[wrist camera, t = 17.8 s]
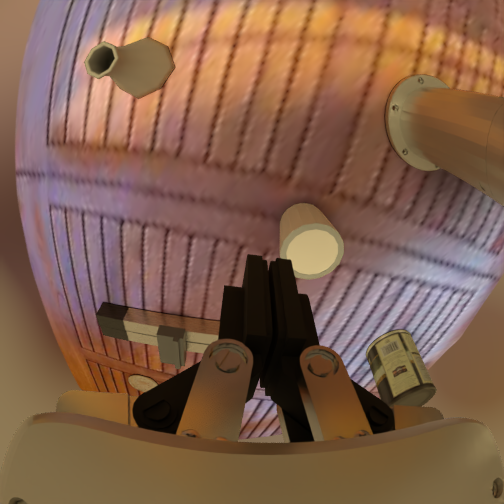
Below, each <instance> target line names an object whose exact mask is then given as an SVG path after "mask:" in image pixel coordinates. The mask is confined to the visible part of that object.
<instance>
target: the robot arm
mask: <svg viewBox="0 0 504 504" xmlns="http://www.w3.org/2000/svg"><path fill="white" fill-rule="evenodd" d="M392 107H393V109H392ZM385 122H386V129H387V134H388V137H389V140H390V142H391V145H392V146H393V148H394V150H395V151H396V153H397V154H398V155H399V156H400V157H401V159H402V160H404V161H405V162H406V163H408V164H409V165H411V166H413V167H414V168H417V169H420V170H423V171H434V170H438V169H441V168H442V169H444V170H446V171H447V172H449V173H451V174H453V175H454V176H456V177H458V178H460V179H461V180H463V181H465V182H466V183H468V184H470V185H471V186H473V187H475V188H476V189H478V190H479V191H481V192H482V193H484V194H486V195H487V196H489V197H490V198H492V199H493V200H495V201H496V202H497V203H499V204H500V205H502V206H503V207H504V97H500V96H495V95H489V94H484V93H478V92H471V91H464V90H457V89H450V88H449V87H448V86H447V85H446V84H445V83H444V82H442V81H441V80H439V79H437V78H435V77H433V76H429V75H412V76H409V77H406V78H404V79H403V80H401V81H400V82H399V83H398V84H397V85H396V86H395V87H394V89H393V90H392V92H391V94H390V96H389V98H388V101H387V105H386V113H385ZM402 151H403V152H402ZM259 378H260V387H261V388H265V396H271V400H272V401H274V402H275V403H276V404H277V413H278V417H279V422H280V426H281V430H282V434H283V438H284V443H251V442H250V443H249V442H238V438H239V433H240V428H241V423H242V418H243V413H244V408H245V403H247V402H248V401H249V400H251V399H252V398H253V395H254V392H255V389H256V387H257V384H258V381H259ZM0 504H504V467H503V464H502V460H501V456H500V453H499V450H498V447H497V445H496V442H495V440H494V437H493V435H492V434H491V431H490V430H489V428H488V427H487V426H486V425H485V424H484V423H482V422H480V421H478V420H474V419H469V418H461V417H457V418H447V419H444V418H443V415H442V414H441V412H440V411H439V410H437V409H436V408H433V407H418V406H402V405H393V406H392V407H389V406H388V405H387V404H386V403H385V402H383V401H382V400H380V399H379V398H377V397H376V396H374V395H373V394H372V393H370V392H369V391H367V390H366V389H364V388H363V387H361V386H360V385H358V384H357V383H356V382H354V381H353V380H351V379H350V377H349V375H348V372H347V370H346V368H345V365H344V363H343V361H342V359H341V358H340V356H339V355H338V354H337V353H336V352H335V351H334V350H332V349H330V348H328V347H325V346H320V345H319V341H318V336H317V332H316V327H315V323H314V318H313V314H312V310H311V306H310V301H309V298H308V295H307V294H298V290H297V285H296V280H295V275H294V271H293V266H292V261H291V260H290V259H282V258H276V261H271V262H270V266H269V270H268V265H267V260H262V256H258V255H250V254H248V255H247V261H246V267H245V273H244V279H243V285H242V287H233V286H225V285H224V293H223V301H222V309H221V318H220V326H219V335H218V340H217V341H214V342H212V343H211V344H210V345H208V346H207V348H206V350H205V351H204V354H203V357H202V360H201V361H200V362H199V363H197V364H195V365H193V366H192V367H190V368H188V369H186V370H185V371H183V372H181V373H179V374H178V375H176V376H174V377H172V378H170V379H169V380H167V381H165V382H163V383H161V384H159V385H158V386H156V387H154V388H152V389H150V390H148V391H146V392H144V393H143V394H141V395H140V396H129V395H128V394H126V393H105V392H91V391H80V390H69V391H67V392H65V393H63V394H62V395H61V396H60V397H59V399H58V402H57V406H56V412H48V413H41V414H35V415H32V416H30V417H28V418H27V419H25V420H24V421H23V422H22V423H21V424H20V426H19V427H18V428H17V430H16V432H15V434H14V436H13V438H12V440H11V442H10V444H9V446H8V449H7V452H6V454H5V457H4V460H3V464H2V467H1V471H0Z"/></svg>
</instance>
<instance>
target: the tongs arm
mask: <svg viewBox="0 0 504 504" xmlns="http://www.w3.org/2000/svg"><path fill="white" fill-rule="evenodd" d="M96 316H97V319H98V322H99V325H101V326H105V327H109V328H114V329H119V330H123V331H131V332H136V333H142V334H147V335H152V336H157V335H156V334H157V331H158V328H159V325H164V326H170V327H176V328H183V329H185V332H186V341H190V342H197V343H205V344H211V343H212V342H214V341H217V340H218V335H219V326H220V321H213V320H205V319H197V318H190V317H183V316H176V315H169V314H163V313H157V312H151V311H145V310H139V309H133V308H129V307H124V306H119V305H113V304H108V303H104V302H103V303H102V305H101V307H100V308H99V310H98V312H97V314H96Z"/></svg>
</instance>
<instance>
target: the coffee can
mask: <svg viewBox="0 0 504 504" xmlns="http://www.w3.org/2000/svg"><path fill="white" fill-rule="evenodd" d="M366 357H367V359H368V362H369V365H370V368H371V370H372V373H373V376H374V379H375V383H376V386H377V389H378V392H379V396H380V399H381V400H382V401H383V402H385V403H386V404H387V405H388V406H389V407H392V406H393V405H402V406H418V407H421V406H422V405H424V404H425V403H427V402H428V401H429V400H430V399H431V398H432V397H433V396H434V395H435V393H436V388H435V386H434V385H433V382H432V380H431V378H430V376H429V373H428V371H427V369H426V367H425V365H424V362H423V360H422V358H421V356H420V354H419V352H418V350H417V347H416V345H415V343H414V341H413V339H412V337H411V334H410V333H409V332H408V331H406V330H394V331H391V332H388V333H386V334H384V335H382V336H380V337H379V338H377V339H376V340H375V341H374V342H373V343H372V344H371V345H370V346H369V348H368V349H367V352H366Z"/></svg>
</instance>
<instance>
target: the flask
mask: <svg viewBox="0 0 504 504" xmlns="http://www.w3.org/2000/svg"><path fill="white" fill-rule="evenodd" d="M84 63H85V66H86V70H87V73H88V74H89V75H91V76H93V77H95V78H97V79H100V78H102V77H104V76H110V77H111V78H112V79H113V81H114V82H115V83H116V84H117V86H118V87H119V88H120V89H122V90H123V91H125V92H127V93H129V94H131V95H132V96H134V97H136V98H138V99H139V98H141V97H143V96H145V95H147V94H150V93H152V92H154V91H156V90H158V89H161V87H162V86H163V84H164V83H165V81H166V80H167V78H168V77H169V75H170V74H171V72H172V71H173V70H174V68H175V66H174V63H173V60H172V57H171V54H170V51H169V49H168V46H166V45H164V44H162V43H160V42H158V41H156V40H153V39H151V38H149V37H147V38H144V39H142V40H139V41H137V42H134V43H131V44H128V45H126V46H122V47H116V46H114V45H112V44H110V43H107V42H105V41H104V42H102V43H100V44H99V45H97V46H96V47H94V48H92V49H91V51H90V53H89V54H88V56H87V58H86V60H85V62H84Z"/></svg>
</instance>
